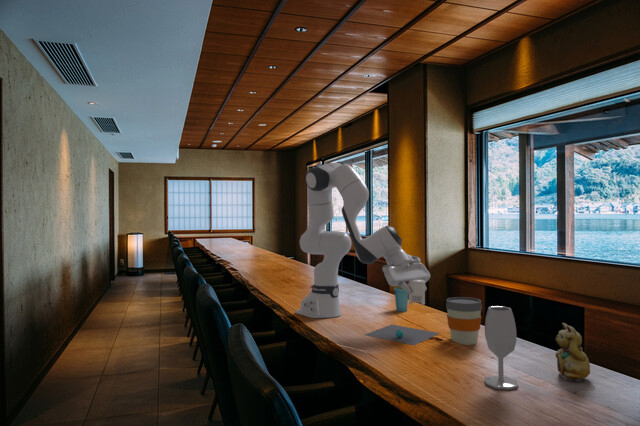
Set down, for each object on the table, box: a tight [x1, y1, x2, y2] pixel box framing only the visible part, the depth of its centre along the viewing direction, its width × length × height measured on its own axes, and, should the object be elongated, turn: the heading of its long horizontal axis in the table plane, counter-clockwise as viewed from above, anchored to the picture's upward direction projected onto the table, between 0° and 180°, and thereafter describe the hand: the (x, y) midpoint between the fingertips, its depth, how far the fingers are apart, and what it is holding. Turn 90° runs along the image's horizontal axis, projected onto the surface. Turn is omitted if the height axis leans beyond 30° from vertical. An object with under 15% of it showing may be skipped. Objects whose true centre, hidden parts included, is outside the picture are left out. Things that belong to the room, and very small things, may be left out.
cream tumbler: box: [408, 279, 426, 306], centre depth 177 cm, size 6×6×9 cm
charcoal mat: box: [364, 324, 441, 346], centre depth 176 cm, size 22×20×1 cm
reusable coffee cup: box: [445, 296, 483, 346], centre depth 166 cm, size 13×13×15 cm
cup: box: [393, 286, 409, 313], centre depth 218 cm, size 14×8×15 cm, turn 13°
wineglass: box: [484, 305, 519, 391], centre depth 125 cm, size 9×9×21 cm
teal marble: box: [396, 330, 404, 338], centre depth 171 cm, size 3×3×3 cm
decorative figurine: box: [555, 322, 591, 382], centre depth 129 cm, size 10×8×15 cm
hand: (417, 291), depth 176 cm, fingers closed on cream tumbler, 6 cm apart
